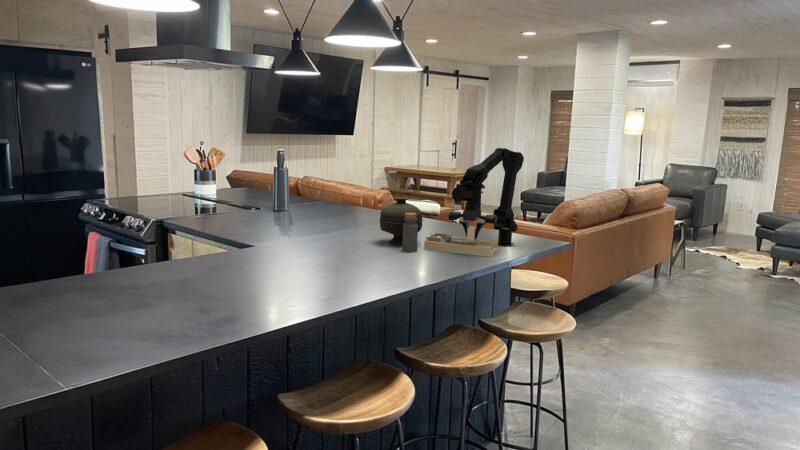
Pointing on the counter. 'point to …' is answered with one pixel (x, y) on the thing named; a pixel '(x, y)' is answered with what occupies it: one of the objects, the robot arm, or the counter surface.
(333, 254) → the counter surface
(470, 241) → the tan and grey block
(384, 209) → the pot
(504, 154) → the robot arm
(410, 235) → the bottle
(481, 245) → the pitch
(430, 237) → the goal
